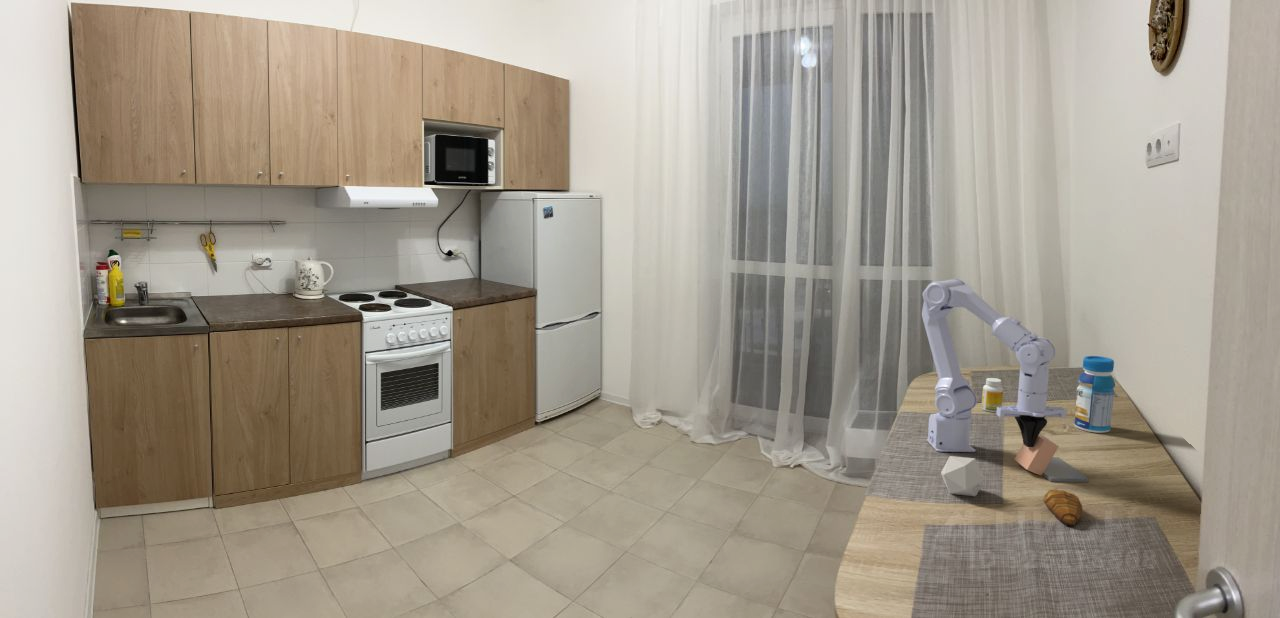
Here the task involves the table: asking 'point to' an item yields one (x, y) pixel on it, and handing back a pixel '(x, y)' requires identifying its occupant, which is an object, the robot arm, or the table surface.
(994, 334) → the robot arm
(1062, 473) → the board
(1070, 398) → the table surface
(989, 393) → the supplement bottle
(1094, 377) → the beverage bottle
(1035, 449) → the block
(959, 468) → the die
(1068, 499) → the croissant
